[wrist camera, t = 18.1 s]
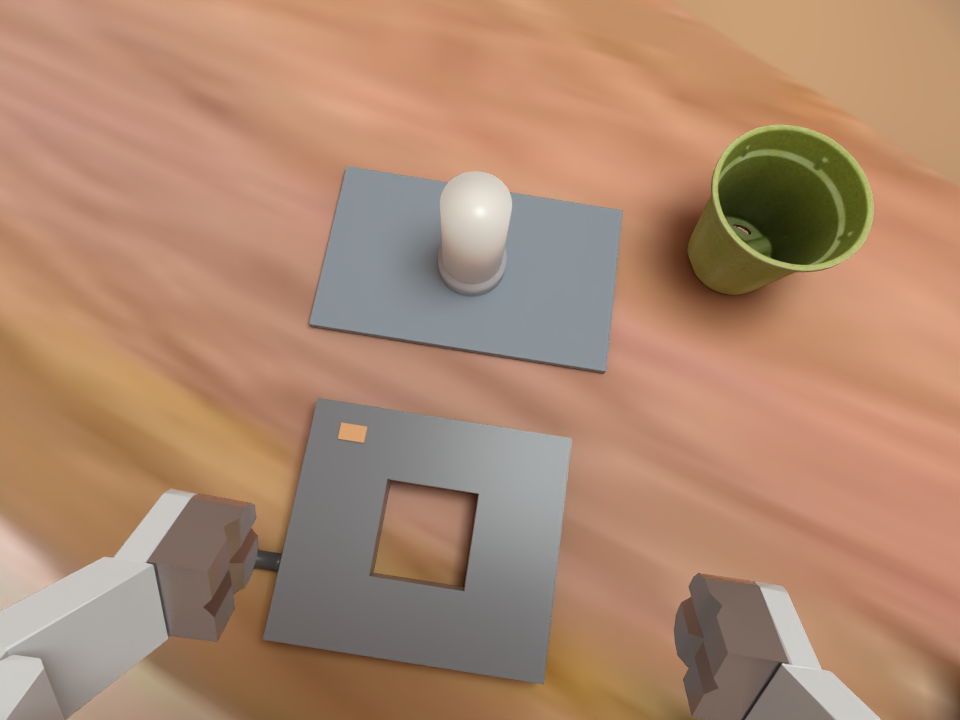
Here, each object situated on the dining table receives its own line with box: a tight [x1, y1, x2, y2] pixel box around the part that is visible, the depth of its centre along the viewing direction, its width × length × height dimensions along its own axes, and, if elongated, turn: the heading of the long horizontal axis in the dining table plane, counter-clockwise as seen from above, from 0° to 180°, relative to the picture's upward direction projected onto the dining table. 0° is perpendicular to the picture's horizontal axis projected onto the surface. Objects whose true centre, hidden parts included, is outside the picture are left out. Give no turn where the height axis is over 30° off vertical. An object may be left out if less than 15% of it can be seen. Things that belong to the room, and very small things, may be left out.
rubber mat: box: [309, 166, 623, 373], centre depth 42 cm, size 20×12×1 cm, turn 81°
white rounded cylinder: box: [438, 171, 512, 297], centre depth 37 cm, size 5×5×8 cm
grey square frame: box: [254, 398, 572, 684], centre depth 36 cm, size 21×14×2 cm, turn 81°
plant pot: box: [687, 125, 874, 295], centre depth 39 cm, size 9×9×9 cm
